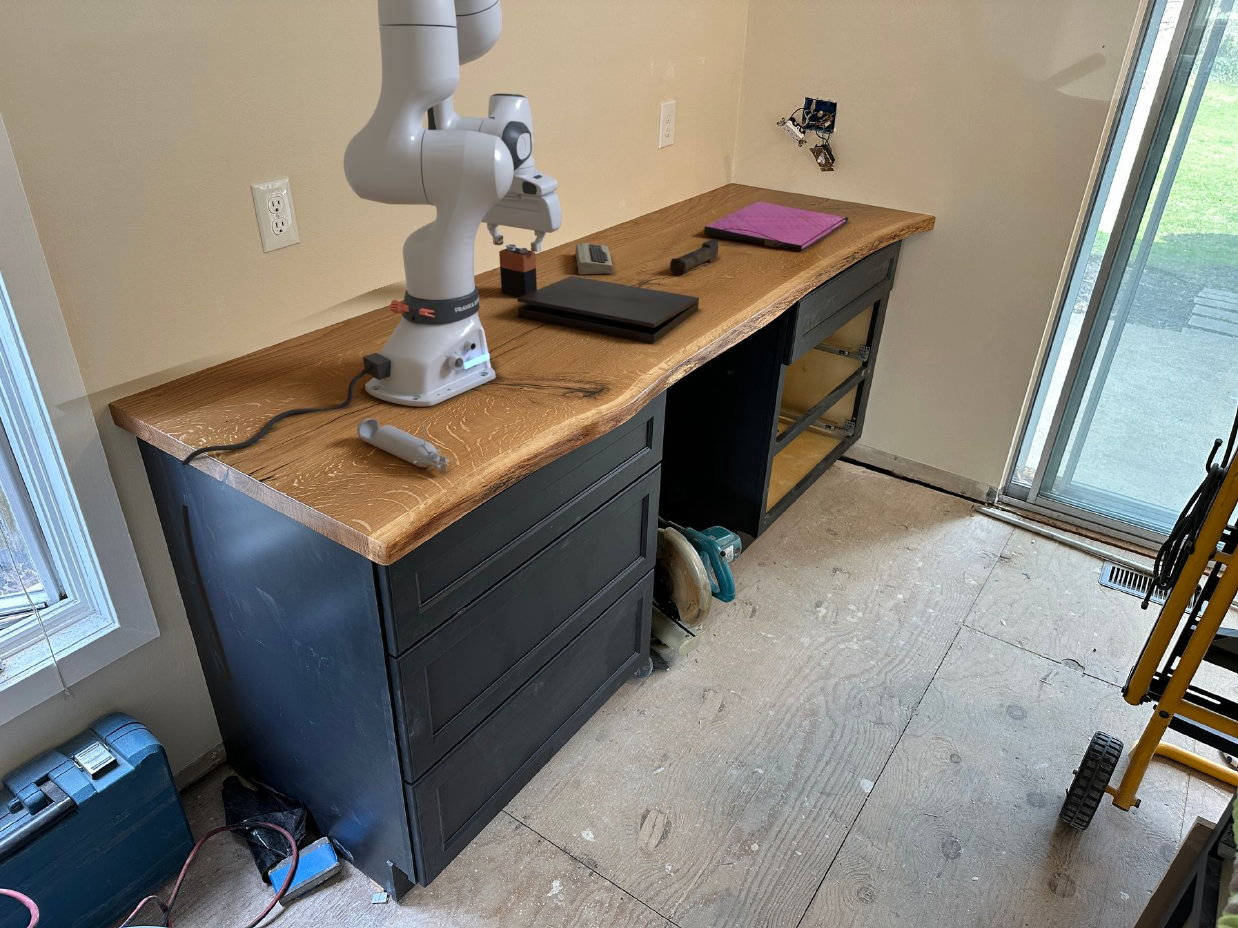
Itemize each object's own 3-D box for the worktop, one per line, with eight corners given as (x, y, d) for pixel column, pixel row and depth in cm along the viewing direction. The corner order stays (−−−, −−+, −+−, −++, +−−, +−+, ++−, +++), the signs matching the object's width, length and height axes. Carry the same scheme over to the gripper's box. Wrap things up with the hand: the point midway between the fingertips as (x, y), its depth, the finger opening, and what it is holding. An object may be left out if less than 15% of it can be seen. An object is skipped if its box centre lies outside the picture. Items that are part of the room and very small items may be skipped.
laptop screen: (654, 328, 159) (654, 323, 158) (517, 302, 171) (517, 298, 170) (698, 301, 176) (699, 297, 175) (571, 280, 188) (571, 275, 187)
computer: (613, 274, 197) (613, 260, 196) (578, 275, 197) (577, 260, 195) (608, 255, 211) (608, 241, 209) (575, 255, 210) (575, 242, 209)
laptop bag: (758, 195, 251) (849, 209, 239) (757, 209, 253) (847, 224, 241) (696, 223, 221) (797, 241, 209) (695, 239, 223) (795, 257, 211)
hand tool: (683, 277, 196) (684, 257, 193) (669, 274, 198) (669, 254, 195) (727, 259, 209) (728, 239, 206) (712, 256, 211) (714, 236, 209)
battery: (513, 287, 188) (511, 242, 184) (538, 293, 185) (536, 247, 180) (500, 292, 185) (497, 246, 180) (524, 299, 182) (522, 251, 177)
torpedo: (350, 444, 126) (343, 403, 122) (376, 432, 129) (370, 392, 126) (434, 483, 116) (429, 440, 113) (460, 469, 119) (456, 427, 116)
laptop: (653, 344, 160) (653, 334, 159) (518, 317, 172) (517, 308, 171) (698, 310, 176) (698, 301, 176) (571, 288, 189) (571, 279, 188)
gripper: (461, 177, 175) (467, 244, 182) (547, 188, 167) (550, 258, 174) (480, 171, 180) (485, 237, 187) (564, 182, 172) (566, 250, 179)
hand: (517, 247), depth 181 cm, fingers open, 8 cm apart
